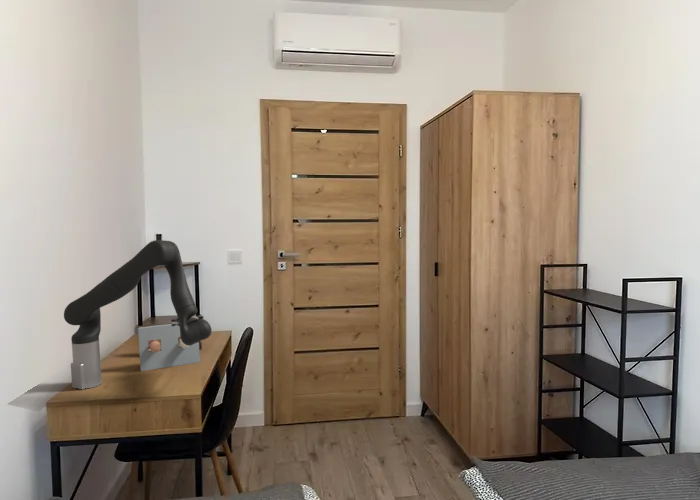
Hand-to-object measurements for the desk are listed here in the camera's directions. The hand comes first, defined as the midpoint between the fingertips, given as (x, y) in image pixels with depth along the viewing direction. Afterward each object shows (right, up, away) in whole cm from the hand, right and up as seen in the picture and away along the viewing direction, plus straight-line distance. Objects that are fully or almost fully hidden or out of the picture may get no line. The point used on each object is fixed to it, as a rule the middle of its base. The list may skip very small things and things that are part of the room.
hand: (185, 317), depth 198 cm
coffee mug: (-6, -21, +36) cm, 42 cm away
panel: (-10, -22, +10) cm, 26 cm away
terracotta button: (-13, -14, +2) cm, 20 cm away
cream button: (-2, -14, +7) cm, 16 cm away
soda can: (-26, -22, +27) cm, 43 cm away
